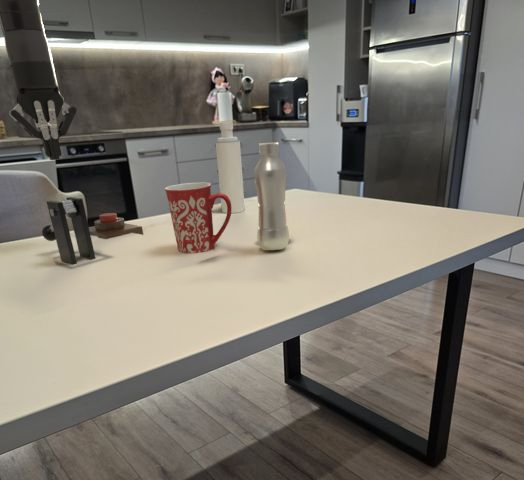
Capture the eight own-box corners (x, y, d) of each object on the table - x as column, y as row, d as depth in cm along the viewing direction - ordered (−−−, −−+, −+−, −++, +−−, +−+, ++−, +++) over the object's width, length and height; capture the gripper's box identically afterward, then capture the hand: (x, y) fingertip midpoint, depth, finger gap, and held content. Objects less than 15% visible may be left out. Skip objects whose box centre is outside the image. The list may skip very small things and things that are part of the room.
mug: (167, 260, 95) (156, 190, 89) (182, 248, 103) (174, 183, 97) (229, 260, 93) (222, 187, 86) (239, 248, 100) (234, 180, 94)
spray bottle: (244, 212, 135) (237, 114, 124) (221, 214, 135) (211, 115, 124) (245, 208, 141) (238, 114, 130) (222, 209, 141) (213, 115, 130)
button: (97, 222, 116) (96, 215, 115) (112, 219, 118) (110, 212, 118) (106, 224, 113) (104, 216, 113) (121, 221, 116) (119, 213, 115)
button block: (81, 238, 118) (77, 221, 116) (116, 230, 124) (113, 214, 123) (107, 244, 111) (104, 227, 109) (143, 235, 117) (140, 218, 115)
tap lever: (44, 244, 99) (37, 230, 99) (59, 241, 101) (52, 227, 101) (64, 215, 88) (56, 199, 88) (80, 212, 91) (73, 197, 90)
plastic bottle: (252, 253, 96) (245, 145, 87) (265, 244, 102) (259, 142, 93) (282, 254, 94) (278, 144, 85) (294, 245, 100) (291, 141, 91)
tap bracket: (49, 267, 96) (31, 201, 90) (85, 257, 101) (71, 194, 95) (74, 275, 90) (56, 205, 84) (111, 264, 95) (97, 198, 89)
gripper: (60, 63, 96) (80, 155, 104) (-11, 63, 89) (16, 162, 97) (72, 58, 91) (92, 156, 99) (-3, 58, 84) (25, 164, 92)
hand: (54, 159), depth 98 cm, fingers closed
